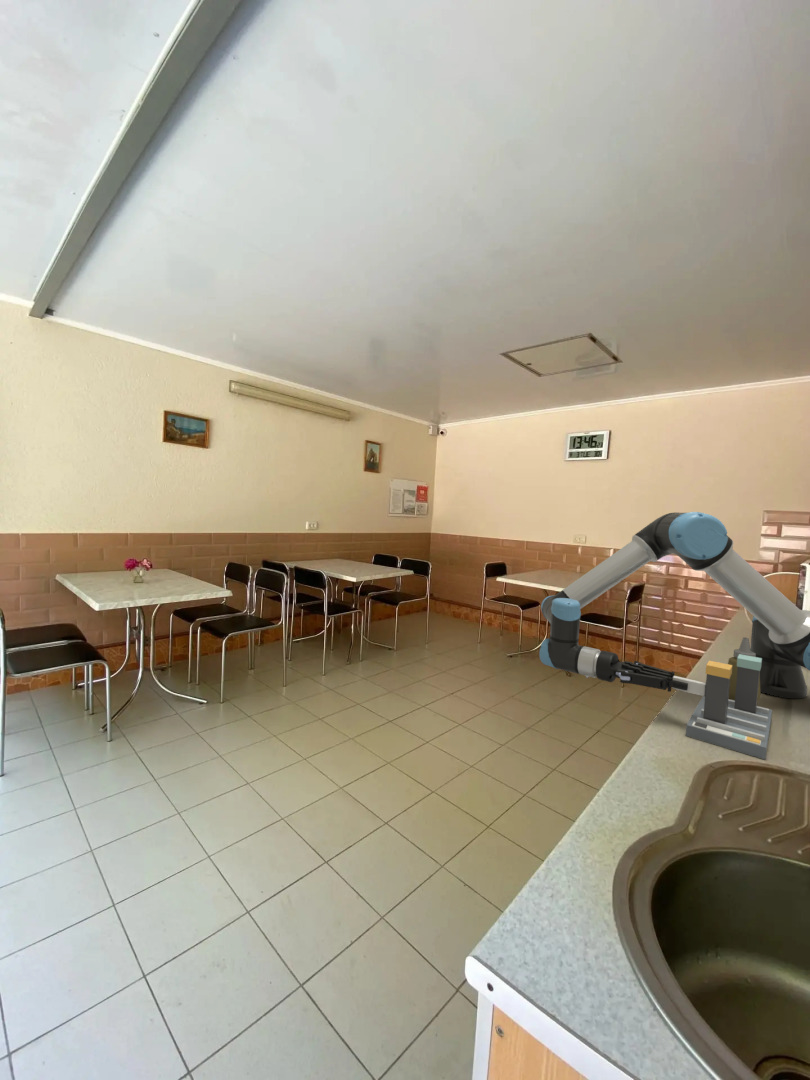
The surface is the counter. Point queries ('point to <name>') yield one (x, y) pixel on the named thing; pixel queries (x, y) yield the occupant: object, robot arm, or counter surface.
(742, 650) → the squeeze bottle
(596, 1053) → the counter surface
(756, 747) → the console
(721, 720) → the orange capped grey block
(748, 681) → the mint capped grey block
